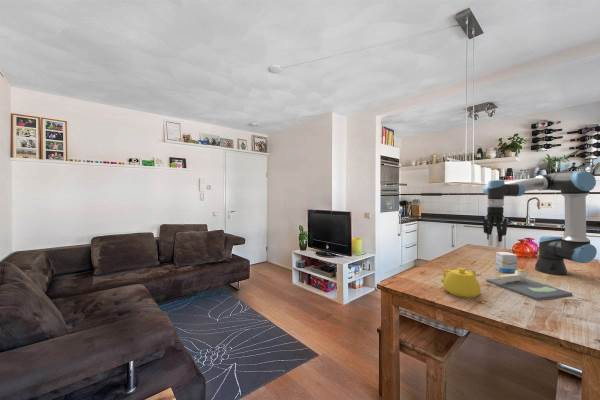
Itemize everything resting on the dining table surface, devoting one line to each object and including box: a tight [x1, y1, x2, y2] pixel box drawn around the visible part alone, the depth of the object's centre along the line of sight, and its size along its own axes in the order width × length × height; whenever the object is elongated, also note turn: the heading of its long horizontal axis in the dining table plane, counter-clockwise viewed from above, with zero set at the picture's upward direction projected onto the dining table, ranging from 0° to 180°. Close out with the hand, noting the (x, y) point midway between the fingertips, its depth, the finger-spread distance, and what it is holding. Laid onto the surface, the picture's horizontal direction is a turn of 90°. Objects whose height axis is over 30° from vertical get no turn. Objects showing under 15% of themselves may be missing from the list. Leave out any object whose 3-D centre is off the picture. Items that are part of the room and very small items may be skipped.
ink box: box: [494, 251, 518, 274], centre depth 169 cm, size 9×8×12 cm
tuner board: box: [485, 278, 573, 301], centre depth 140 cm, size 24×26×2 cm
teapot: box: [441, 267, 482, 299], centre depth 136 cm, size 20×19×13 cm
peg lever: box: [495, 268, 527, 282], centre depth 144 cm, size 19×5×6 cm, turn 103°
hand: (494, 246), depth 150 cm, fingers open, 3 cm apart
